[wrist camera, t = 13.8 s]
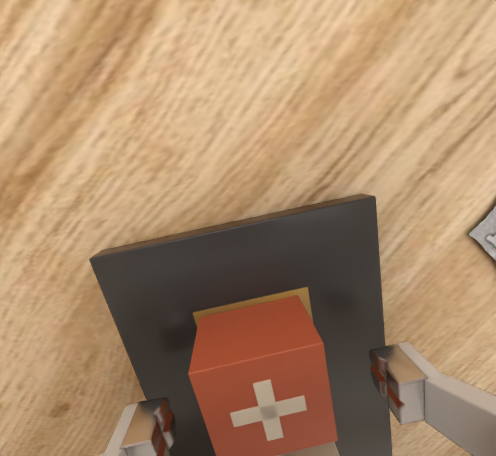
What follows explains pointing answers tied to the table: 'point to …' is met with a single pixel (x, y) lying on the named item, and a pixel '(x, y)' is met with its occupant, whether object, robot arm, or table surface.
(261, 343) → the red plus sign cube
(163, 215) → the table surface
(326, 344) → the dark grey board
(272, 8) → the table surface
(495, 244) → the coin fragment
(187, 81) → the table surface
